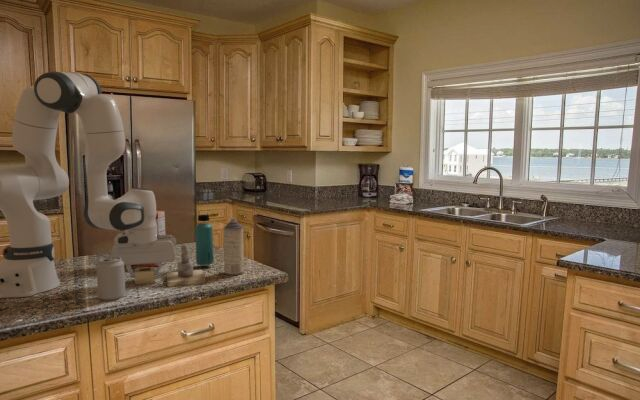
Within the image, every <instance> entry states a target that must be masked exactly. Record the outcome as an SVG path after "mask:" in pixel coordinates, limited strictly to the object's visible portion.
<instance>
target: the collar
mask: <svg viewBox="0 0 640 400" xmlns="http://www.w3.org/2000/svg"><path fill="white" fill-rule="evenodd" d="M154 270H155V266H144V267H143V266H142V267H135V268H134V271H135V277H134V284H135V285H146V284H147V285H148V284H154V283H156V282H155V281H156V280H155V277H156V276H154Z"/></svg>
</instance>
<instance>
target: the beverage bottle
mask: <svg viewBox="0 0 640 400" xmlns="http://www.w3.org/2000/svg"><path fill="white" fill-rule="evenodd" d="M197 221H198V222H201V223H198V224H197V225H196V226H195V253H196V254H195V255H196V257H195V258H196V259H195V260H196V264H197V265H199V266H208V265H212V264H214V258H215V257H214V235H213V225H212V224H211V223H210V222H209V223H208V221H210V216H209V214H199V215H198V216H197Z"/></svg>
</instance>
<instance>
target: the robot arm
mask: <svg viewBox="0 0 640 400" xmlns="http://www.w3.org/2000/svg"><path fill="white" fill-rule="evenodd" d="M18 99H19V100H18V103H17V105H16V110H15V114H14V121H13V125H12V126H13V127H12V128H13V129H12V134H11V141H10V142H11V145H12V147H13V149H15V151H17V152H18V153H20V154H21V155H23V156H24V159H25V163H24V165H9V166H0V212H1V213H2V215H3V217H4V218H5V221H6V225H7V231H8V237H9V244H7V245H6V246H5V247H4V248H3V249H2V251H1V255H2V257H3V259H1V260H0V298H1V299H3V298H6V299H7V298H23V297H24V298H25V297H31V296H35V295H37V294H39V293H43V292H47V291H50V290H51V291H52V290H53V289H56V288H58V287H59V286H60V285H61V282H60V279H59V277H58V273H57V270H56V267H55V266H56V265H55V258H56V257H55V255H56V254H55V246H54V242H53V241H52V227H51V224H52V223H51V220H50V218H49V217H48V216H47V215H45V214H44V213H41V212H39V211H38V210H37V209H36V207H35V206H34V205H35V204H34V201H39V200H48V199H49V200H50V199H52V198H56V197H59V196H61V195H63V194H65V193H66V192H67V191H68V188H69V185H70V179H69V175H68V174H67V172H66V170H65V169H63V168H62V167H61V166H60V164H59V163H58V161H57V158H56V150H55V149H56V140H57V134H58V133H57V132H58V128H59V127H58V125H59V119H60V116H61V113H63V112H64V113H67V114H73V113H75V114H76V115H78V117H79V118H80V120H81V124H82V130H83V135H84V136H83V137H84V145H85V146H84V147H85V155H84V160H83V161H84V163H83V167H84V170H83V171H84V182H85V183H84V185H85V203H84V207H83V208H84V209H83V218H84V221H85V222H86V224H87V225H88V226H89V227H91V228H93V229H96V230H98V229H99V230H109V231H119V232H121V231H123V232H122V233H118V234H117V235H115V237H114V238H113V243H114V245H113V246H112V248H111V251H110V257H121V258H122V259H121V260H122V261H123V262H124V266H125V267H126V268H125V269H126V270H127V271H128V273H129V278H131V279H133V278H135V270H134V271H133V269H132V266H135V265H134V264H149V263H158V266H159V267H158V266H157V268H156V269H154V276H155V277H159V276H160V269H161V268H162V267H163V265H162V263H163V262H166V263H173V262H175V260H176V249H175V247H176V245H177V238H176V237H175V236H174V235H172V234H165V235H157V224H156V220H155V219H156V211H157V200H156V196H155V193H154V192H153V190H152V189H150V188H149V189H148V188H142V187H141V188H140V187H131V188H129V189H128V191H127V192H126V193H124V194H123V195H122V196H120V197H118V198H116V199H112V198H111V197H110V196H109V194H108V192H109V191H108V180H107V179H108V178H107V173H108V172H107V171H108V169H109V167H110V166H111V164H112V163H114V162H115V161H116V160H118V159H120V158H121V156H122V155H123V154H124V152H125V150H126V136H125V135H126V134H125V129H124V123H123V119H122V115H121V113H120V109H119V106H118V104H117V101H116V100H115V99H114V98H113V97H112V96H109V95H107V94H103V92H102V87H101V85H100V84H99V82H98V81H97V79H95V78H94V77H92V76H90V75H88V74H85V73H80V72H74V71H57V70H54V71H48V72H45V73H42V74H41V75H39V76H38V77H37V78H36V80H35V82H34V84H33V85H30V86H27V87H25V88H24V89H23V91H22V92H21V95H20V96H19V98H18ZM128 229H129V231H127V232H124V230H128ZM157 238H158V240H157Z"/></svg>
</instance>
